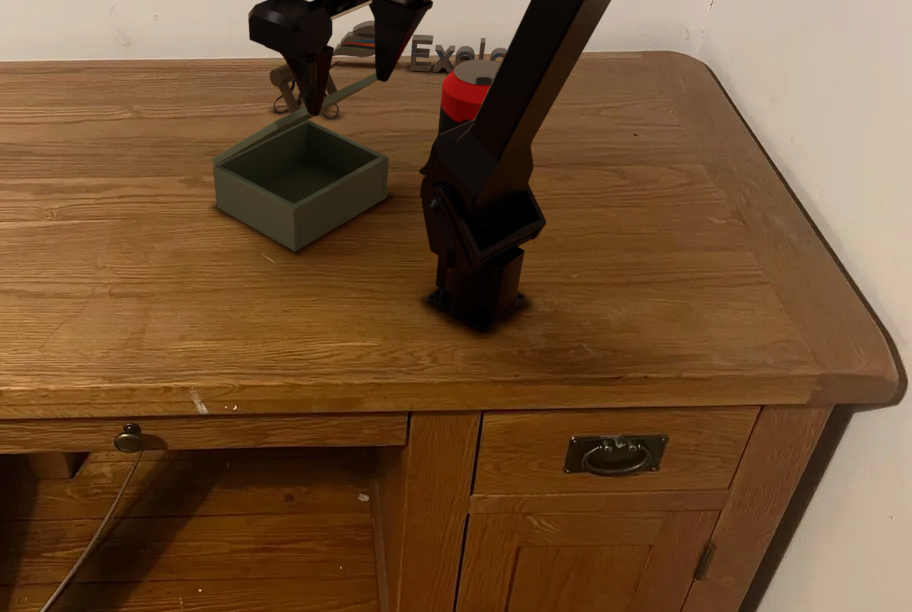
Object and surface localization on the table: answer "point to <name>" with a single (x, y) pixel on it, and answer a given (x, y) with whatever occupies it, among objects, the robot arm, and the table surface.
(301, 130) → the compartment
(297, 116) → the lid
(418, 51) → the extruded letter logo
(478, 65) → the soda can
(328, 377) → the table surface
